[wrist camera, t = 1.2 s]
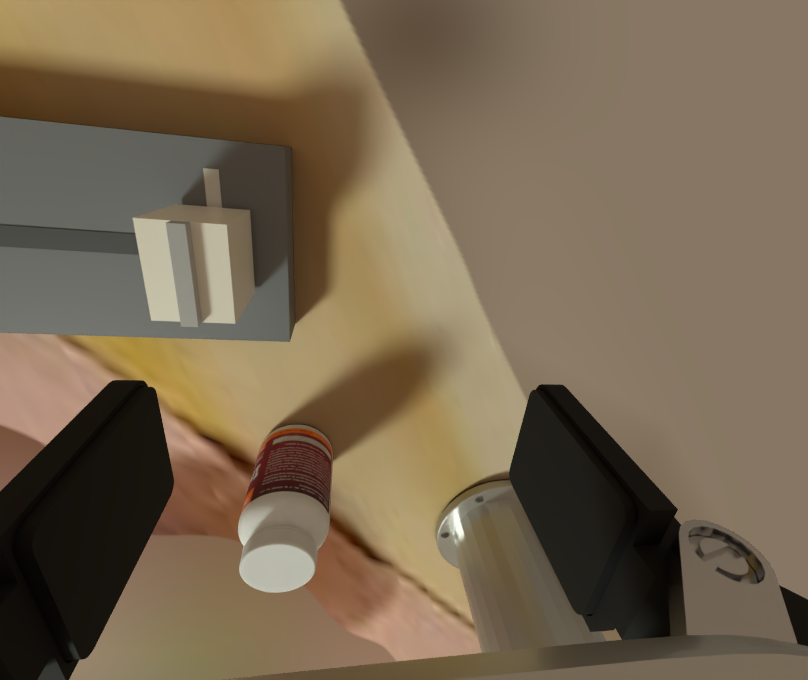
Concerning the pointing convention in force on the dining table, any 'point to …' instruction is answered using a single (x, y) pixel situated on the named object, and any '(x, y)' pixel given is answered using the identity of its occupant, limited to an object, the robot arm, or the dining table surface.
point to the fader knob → (196, 263)
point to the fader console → (130, 226)
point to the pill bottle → (286, 509)
